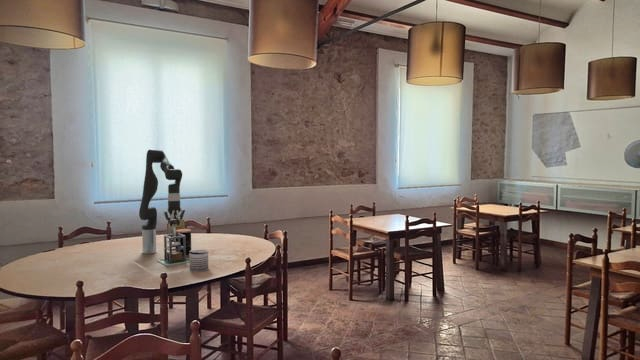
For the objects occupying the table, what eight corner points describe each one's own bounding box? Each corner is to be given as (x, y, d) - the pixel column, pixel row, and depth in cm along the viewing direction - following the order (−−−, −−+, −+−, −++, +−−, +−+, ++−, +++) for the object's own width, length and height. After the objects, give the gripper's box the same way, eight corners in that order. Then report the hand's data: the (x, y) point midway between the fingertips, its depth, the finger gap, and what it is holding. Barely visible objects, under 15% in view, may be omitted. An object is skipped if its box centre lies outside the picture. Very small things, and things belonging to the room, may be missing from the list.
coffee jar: (186, 257, 298) (186, 231, 297) (172, 256, 300) (172, 231, 299) (194, 254, 309) (193, 229, 308) (180, 253, 311) (180, 228, 310)
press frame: (163, 260, 285) (163, 235, 284) (180, 258, 292) (179, 233, 291) (169, 264, 277) (169, 237, 276) (186, 261, 284) (186, 235, 283)
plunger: (167, 244, 284) (167, 219, 283) (178, 242, 289) (177, 218, 287) (171, 246, 279) (171, 220, 278) (181, 244, 283) (181, 219, 282)
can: (185, 269, 269) (185, 250, 268) (201, 265, 278) (201, 247, 277) (196, 273, 262) (196, 253, 261) (212, 269, 271) (212, 250, 270)
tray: (157, 262, 285) (157, 259, 285) (183, 258, 297) (183, 255, 296) (165, 267, 273) (165, 264, 273) (193, 263, 284) (193, 260, 284)
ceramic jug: (170, 238, 363) (169, 202, 361) (188, 237, 365) (188, 202, 363) (165, 242, 346) (164, 205, 344) (184, 242, 348) (184, 205, 346)
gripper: (182, 198, 289) (182, 224, 290) (161, 200, 280) (161, 226, 281) (186, 199, 283) (187, 225, 285) (165, 201, 274) (165, 228, 276)
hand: (174, 225), depth 283 cm, fingers closed on plunger, 3 cm apart
